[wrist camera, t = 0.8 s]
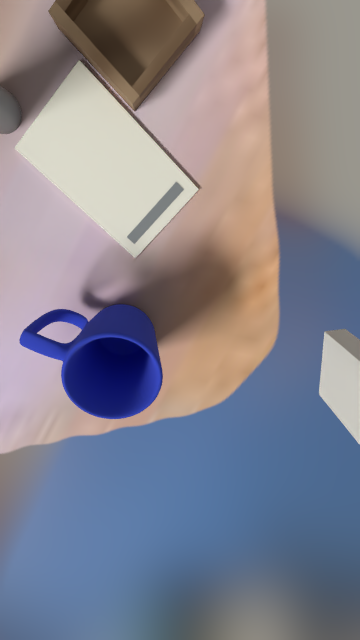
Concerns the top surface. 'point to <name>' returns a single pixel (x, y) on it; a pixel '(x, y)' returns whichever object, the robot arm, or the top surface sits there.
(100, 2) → the tray
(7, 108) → the marker
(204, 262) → the top surface
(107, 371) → the mug
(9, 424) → the top surface
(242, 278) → the top surface
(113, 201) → the paper
